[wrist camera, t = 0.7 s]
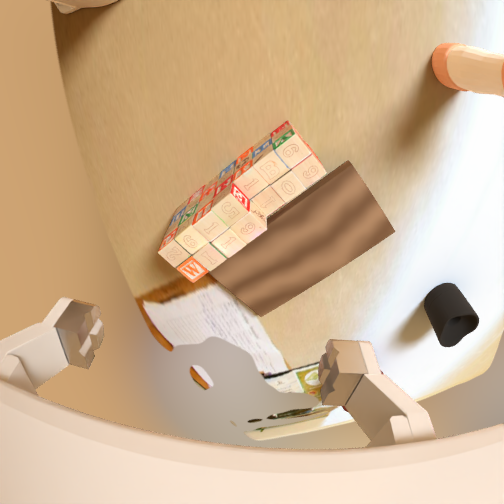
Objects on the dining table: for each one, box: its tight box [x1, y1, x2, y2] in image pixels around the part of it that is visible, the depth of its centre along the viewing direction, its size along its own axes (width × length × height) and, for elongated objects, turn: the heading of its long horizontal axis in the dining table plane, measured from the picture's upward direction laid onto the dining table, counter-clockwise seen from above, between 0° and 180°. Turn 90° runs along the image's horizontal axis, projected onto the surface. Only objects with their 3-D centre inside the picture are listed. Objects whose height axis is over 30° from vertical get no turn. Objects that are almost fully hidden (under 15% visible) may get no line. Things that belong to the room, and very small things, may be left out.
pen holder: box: [424, 283, 479, 347], centre depth 54 cm, size 9×9×10 cm
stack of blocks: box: [158, 121, 327, 283], centre depth 40 cm, size 21×6×12 cm, turn 130°
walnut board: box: [208, 161, 395, 317], centre depth 50 cm, size 14×28×2 cm, turn 131°
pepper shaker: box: [432, 43, 504, 97], centre depth 26 cm, size 7×7×19 cm
